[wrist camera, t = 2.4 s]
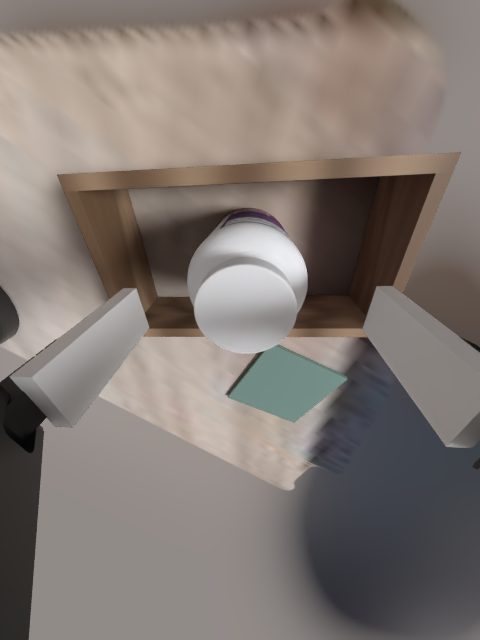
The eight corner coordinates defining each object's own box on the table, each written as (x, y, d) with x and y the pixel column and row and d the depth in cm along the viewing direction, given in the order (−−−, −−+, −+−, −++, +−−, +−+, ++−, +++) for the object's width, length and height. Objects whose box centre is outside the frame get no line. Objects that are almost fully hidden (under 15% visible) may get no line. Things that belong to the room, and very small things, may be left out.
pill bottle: (239, 293, 26) (227, 386, 14) (198, 236, 23) (136, 296, 11) (299, 258, 24) (346, 336, 11) (262, 187, 20) (274, 194, 8)
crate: (152, 304, 28) (125, 336, 22) (113, 177, 20) (57, 174, 14) (355, 302, 26) (384, 337, 20) (395, 162, 18) (461, 152, 13)
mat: (228, 394, 37) (227, 397, 37) (270, 341, 30) (270, 343, 30) (293, 419, 40) (294, 422, 40) (346, 376, 33) (347, 379, 33)
